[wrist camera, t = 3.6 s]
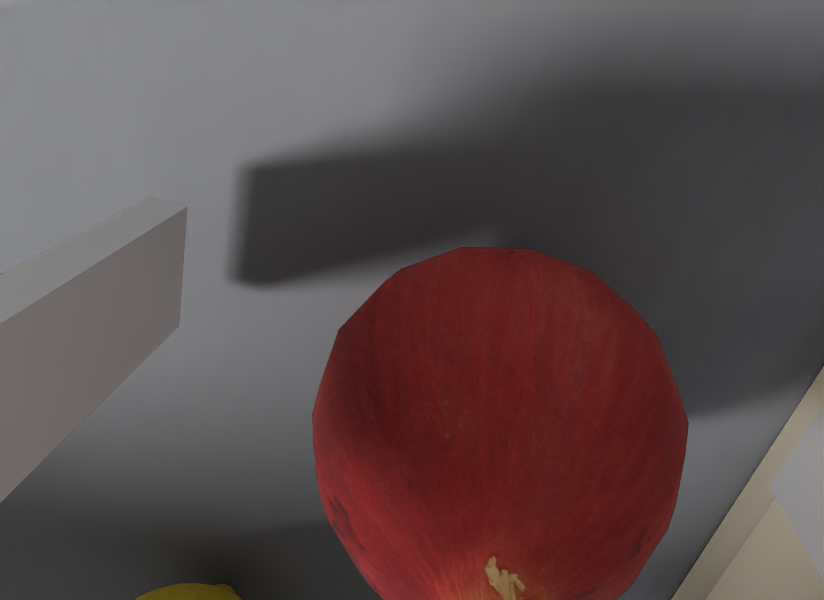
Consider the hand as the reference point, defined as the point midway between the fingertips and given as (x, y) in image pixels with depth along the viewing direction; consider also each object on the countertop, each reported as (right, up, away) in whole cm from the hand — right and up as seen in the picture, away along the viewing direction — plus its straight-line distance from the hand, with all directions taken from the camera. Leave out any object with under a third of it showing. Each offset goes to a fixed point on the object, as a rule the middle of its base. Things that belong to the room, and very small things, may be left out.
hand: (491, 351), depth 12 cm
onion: (0, +1, +1) cm, 2 cm away
